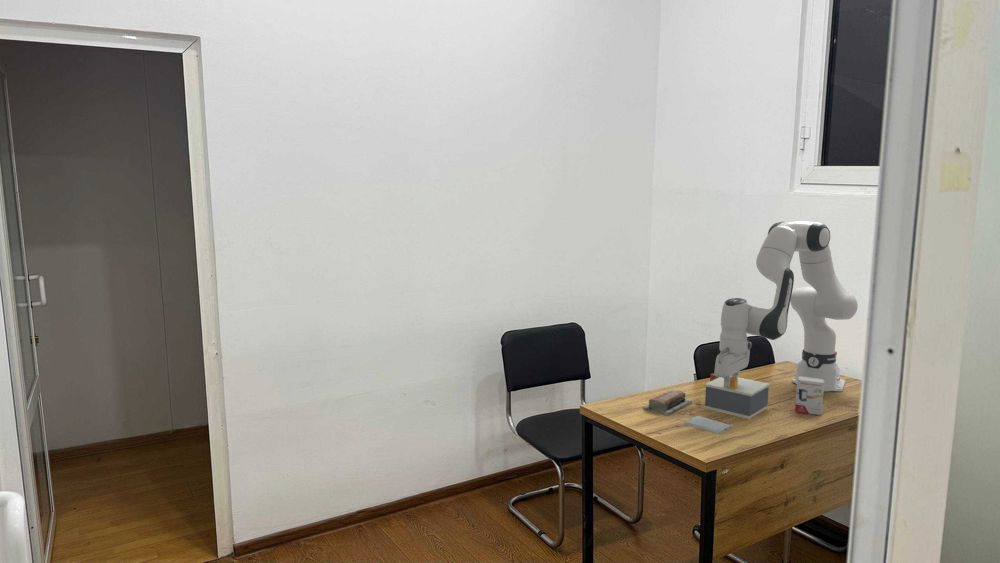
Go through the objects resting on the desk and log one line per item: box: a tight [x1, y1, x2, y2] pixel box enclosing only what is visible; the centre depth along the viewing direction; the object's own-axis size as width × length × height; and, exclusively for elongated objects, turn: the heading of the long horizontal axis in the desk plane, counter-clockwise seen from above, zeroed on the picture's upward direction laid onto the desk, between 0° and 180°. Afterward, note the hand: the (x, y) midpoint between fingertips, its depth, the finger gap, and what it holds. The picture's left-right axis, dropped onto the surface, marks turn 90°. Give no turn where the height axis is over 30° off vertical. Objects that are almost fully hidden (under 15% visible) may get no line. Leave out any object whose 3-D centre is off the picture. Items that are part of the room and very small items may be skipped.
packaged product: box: [642, 390, 693, 416], centre depth 241 cm, size 18×5×10 cm
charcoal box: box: [704, 386, 770, 420], centre depth 240 cm, size 16×16×8 cm
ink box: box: [794, 376, 825, 416], centre depth 236 cm, size 9×5×12 cm, turn 67°
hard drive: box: [684, 415, 733, 435], centre depth 222 cm, size 2×8×12 cm
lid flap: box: [704, 376, 771, 396], centre depth 239 cm, size 17×17×4 cm
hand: (730, 384), depth 234 cm, fingers open, 3 cm apart
